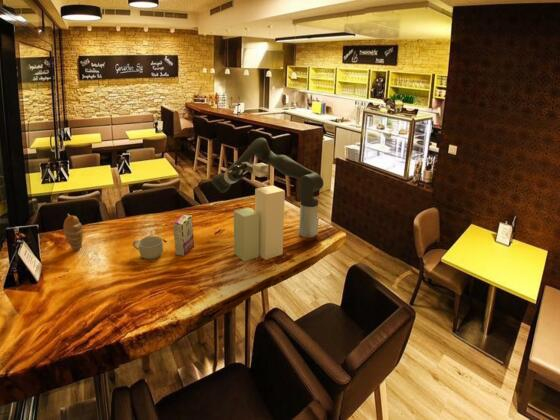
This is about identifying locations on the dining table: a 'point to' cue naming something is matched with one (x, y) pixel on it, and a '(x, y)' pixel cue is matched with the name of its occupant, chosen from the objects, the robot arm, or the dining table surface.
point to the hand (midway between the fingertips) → (249, 164)
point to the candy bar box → (183, 235)
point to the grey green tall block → (246, 233)
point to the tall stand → (270, 220)
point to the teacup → (149, 247)
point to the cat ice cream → (73, 232)
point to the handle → (257, 169)
